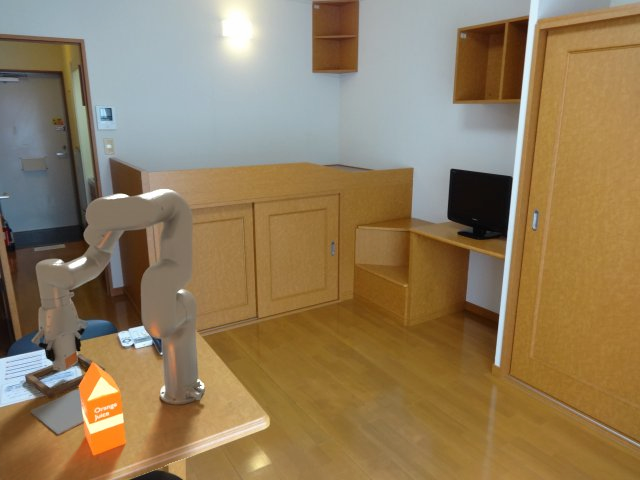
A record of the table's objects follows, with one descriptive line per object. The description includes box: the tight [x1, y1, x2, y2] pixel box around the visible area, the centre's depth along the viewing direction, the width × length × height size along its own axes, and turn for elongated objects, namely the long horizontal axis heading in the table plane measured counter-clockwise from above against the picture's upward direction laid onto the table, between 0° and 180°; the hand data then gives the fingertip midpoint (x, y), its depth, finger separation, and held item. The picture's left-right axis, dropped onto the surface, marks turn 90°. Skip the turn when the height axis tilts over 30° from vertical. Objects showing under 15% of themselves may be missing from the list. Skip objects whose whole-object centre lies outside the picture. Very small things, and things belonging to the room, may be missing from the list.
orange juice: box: [78, 361, 127, 456], centre depth 117 cm, size 8×9×20 cm
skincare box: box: [51, 332, 78, 372], centre depth 144 cm, size 6×4×12 cm
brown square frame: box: [24, 353, 106, 399], centre depth 147 cm, size 15×17×2 cm
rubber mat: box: [29, 388, 84, 436], centre depth 131 cm, size 16×15×1 cm
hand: (64, 354), depth 145 cm, fingers closed on skincare box, 7 cm apart
